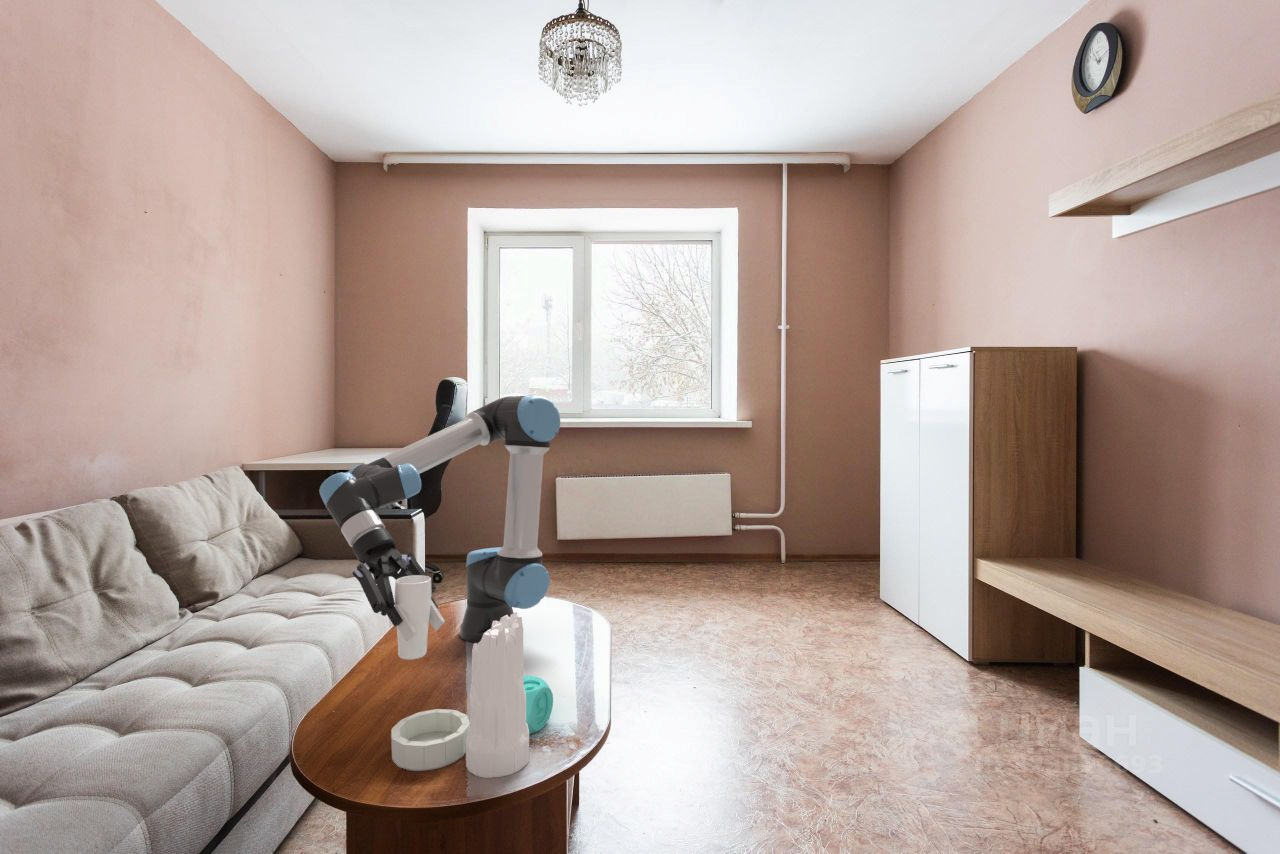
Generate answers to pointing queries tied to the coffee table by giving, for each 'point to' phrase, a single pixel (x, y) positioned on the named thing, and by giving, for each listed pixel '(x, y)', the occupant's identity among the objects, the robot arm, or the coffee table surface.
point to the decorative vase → (498, 702)
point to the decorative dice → (537, 702)
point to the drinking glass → (414, 613)
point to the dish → (429, 739)
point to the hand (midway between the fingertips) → (426, 631)
